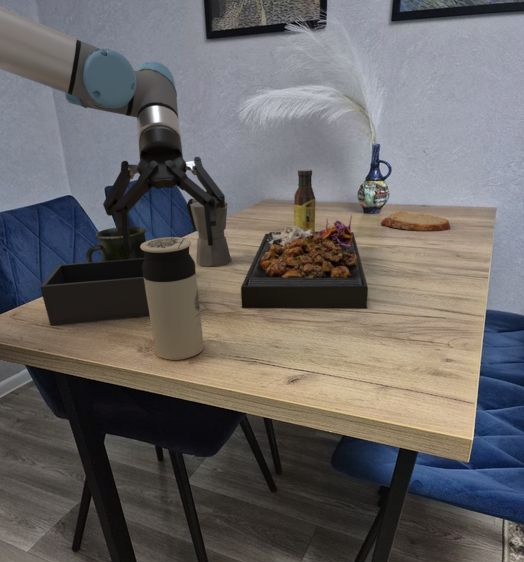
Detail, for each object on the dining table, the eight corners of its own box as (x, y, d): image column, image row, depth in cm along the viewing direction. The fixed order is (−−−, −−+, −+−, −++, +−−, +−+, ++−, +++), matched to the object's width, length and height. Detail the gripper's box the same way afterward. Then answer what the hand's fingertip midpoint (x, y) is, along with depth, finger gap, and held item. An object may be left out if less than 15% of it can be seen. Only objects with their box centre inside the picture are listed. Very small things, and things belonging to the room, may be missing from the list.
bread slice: (454, 229, 147) (456, 216, 145) (402, 234, 143) (403, 222, 141) (424, 218, 162) (425, 207, 161) (376, 223, 159) (376, 211, 157)
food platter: (265, 249, 134) (264, 212, 130) (353, 248, 131) (354, 210, 127) (242, 307, 94) (238, 257, 90) (366, 308, 92) (370, 256, 87)
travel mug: (148, 360, 76) (129, 249, 67) (165, 339, 83) (150, 236, 74) (196, 362, 74) (183, 249, 66) (209, 340, 81) (198, 236, 73)
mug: (162, 281, 112) (154, 230, 107) (104, 297, 103) (93, 242, 98) (139, 271, 119) (132, 224, 114) (84, 286, 111) (73, 235, 105)
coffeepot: (243, 262, 123) (239, 190, 115) (216, 270, 118) (209, 196, 109) (206, 252, 133) (200, 186, 125) (179, 260, 127) (171, 191, 119)
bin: (50, 325, 90) (40, 286, 87) (66, 299, 103) (58, 264, 100) (164, 314, 93) (158, 276, 89) (166, 290, 106) (161, 256, 102)
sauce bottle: (308, 243, 138) (309, 171, 129) (290, 241, 141) (289, 171, 132) (318, 238, 143) (319, 168, 134) (300, 236, 146) (300, 168, 137)
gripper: (228, 152, 89) (243, 250, 83) (93, 160, 86) (97, 262, 80) (229, 121, 82) (244, 226, 76) (82, 129, 79) (85, 238, 73)
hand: (169, 244), depth 78 cm, fingers open, 13 cm apart
